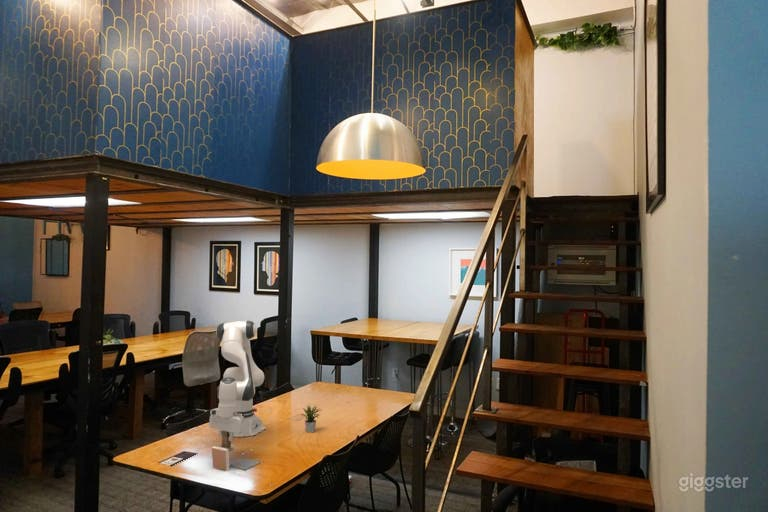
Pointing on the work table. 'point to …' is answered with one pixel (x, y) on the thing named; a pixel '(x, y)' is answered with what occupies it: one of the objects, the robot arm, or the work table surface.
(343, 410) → the work table surface
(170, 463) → the chocolate bar
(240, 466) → the slate mat
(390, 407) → the work table surface
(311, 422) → the house plant
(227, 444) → the wood block on plate
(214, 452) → the tile
